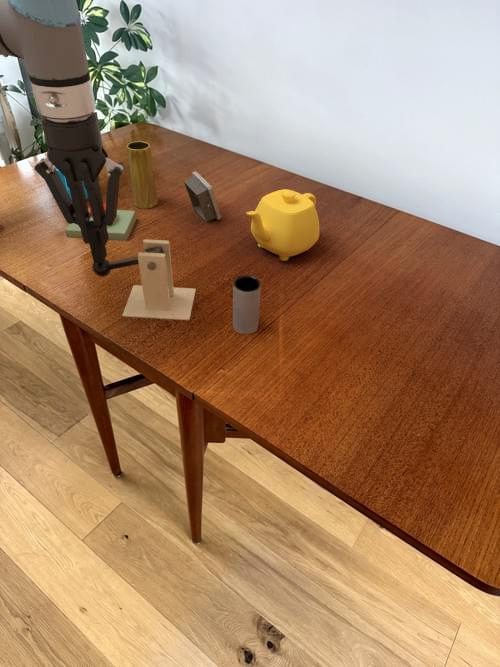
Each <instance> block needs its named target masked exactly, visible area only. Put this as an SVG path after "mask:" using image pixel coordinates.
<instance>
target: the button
mask: <svg viewBox="0 0 500 667" xmlns="http://www.w3.org/2000/svg"><path fill="white" fill-rule="evenodd" d="M103 205H104V210H105V213H106V202H105V203H104V202H103ZM88 208H89V209H90V214H91V217H93V216H92V212H91V208H90V206H88Z"/></svg>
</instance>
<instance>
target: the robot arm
mask: <svg viewBox="0 0 500 667" xmlns="http://www.w3.org/2000/svg"><path fill="white" fill-rule="evenodd" d="M81 21H82V15H81V12H80V10H79V6H78V3H77V0H0V56H10V57H14V58H17V59H21V60H24V63H25V64H24V65H25V67H26V71H27V74H28V78H29V81H30V85H31V90H32V93H33V97H34V101H35V104H36V109H37V112H38V114H39V115H41V118H40V124H41V129H42V132H43V136H44V140H45V143H46V145H47V152H46V157H43V158H41V159H40V160H39V161H38V162H37V163H36V164H35V166H34V170H35V172H36V173H37V174H38V175H39V176H40V177H41V178H42V179H43V180H44V181H45V184H46V186H47V188H48V189H49V191H50V193H51V195H52V197H53V199H54V201H55V203H56V206H58V208H59V211H60V212H61V214H62V216H63V218H64V219H65V222H66V223H67V224H68V225H69V224H72V223H74V224H77V225H78V226H79V227H80V229H81V233H82V237H83V238H82V241H83V242H84V244H87V245H89V249H90V253H91V256H92V261H93V262H94V263H102V264H103V262H104V260H105V259H106V258H107V256H108V253H107V248H106V245H107V243H108V241H109V240H108V239H109V236H108V231H107V225H108V226H111V225H112V224H113V222H114V220H115V218H116V216H117V210H118V203H119V192H120V191H119V190H120V180H121V176H122V174H123V172H124V170H125V169H126V167H125V166H126V164H124V162H122V161H119V162H116V161H114V160H113V159H111V158H109V154H108V152H107V150H106V149H105V148H104V145H103V138H102V133H101V128H100V123H99V116H98V115H97V114H96V113H95V111H96V109H97V106H96V100H95V95H94V89H93V84H92V78H91V74H90V68H89V63H88V56H87V50H86V45H85V44H86V43H85V39H84V33H83V28H82V22H81ZM56 168H57V169H58V170H59V171H60V172H61V173H62V174H63V175H64V176H65V179H66V183H67V187H68V188H69V189H70V193H71V197H72V200H71V198H70V196H69V194H68V192H67V190H66V188H65V186H64V184H63V181H62V179H61V177H60V175H59V174H58V172H57V170H56ZM104 168H105V169H106V170H105V173H106V176H107V177H108V180H107V186H106V200H105V201H106V202H105V204H106V213H105V210H104V205H103V203H104V201H103V196H102V191H101V187H100V176H99V175H100V174H101V172H102V170H103V169H104ZM82 181H83V182H84V187H85V189H86V190H87V194H88V198H87V199H88V202H87V199H86V197H85V192H84V188H83V183H82ZM88 203H89V206H88ZM89 207H90V208H91V212H92V216H93V221H89V220H90V218H91V216H90V215H89V210H88V208H89ZM93 262H92V263H93Z"/></svg>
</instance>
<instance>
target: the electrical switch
mask: <svg viewBox="0 0 500 667" xmlns="http://www.w3.org/2000/svg"><path fill="white" fill-rule="evenodd" d="M183 183H184V186H185V188H186V192H187V194H188V197H189V200H190V202H191V205H192V208H194V210H195V211H196V212H197V214H198V215H199V216H200V217H201V218H202V219H203V220H204V221H205V223H208V222H210V221H212V220H214V219H216V220H217V221H221V220H222V215H221V212H220V211H221V210H220V208H219V205H218V201H217V198H216V194H215V192H214V190H213V187H212V185H211V184H210V183H209V182H207V180H206V179H205V178H204V177H203V176H202V175H201V174H200V173H198V172H197V170H196V171H192V176H190V177H189V178H187V179H186V180H183Z"/></svg>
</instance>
